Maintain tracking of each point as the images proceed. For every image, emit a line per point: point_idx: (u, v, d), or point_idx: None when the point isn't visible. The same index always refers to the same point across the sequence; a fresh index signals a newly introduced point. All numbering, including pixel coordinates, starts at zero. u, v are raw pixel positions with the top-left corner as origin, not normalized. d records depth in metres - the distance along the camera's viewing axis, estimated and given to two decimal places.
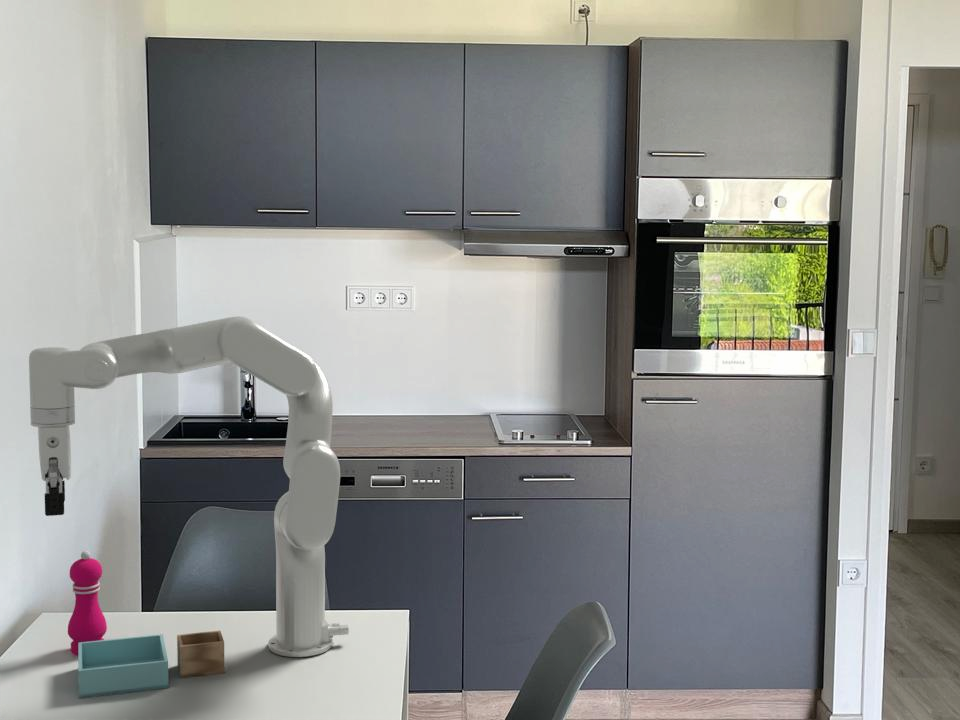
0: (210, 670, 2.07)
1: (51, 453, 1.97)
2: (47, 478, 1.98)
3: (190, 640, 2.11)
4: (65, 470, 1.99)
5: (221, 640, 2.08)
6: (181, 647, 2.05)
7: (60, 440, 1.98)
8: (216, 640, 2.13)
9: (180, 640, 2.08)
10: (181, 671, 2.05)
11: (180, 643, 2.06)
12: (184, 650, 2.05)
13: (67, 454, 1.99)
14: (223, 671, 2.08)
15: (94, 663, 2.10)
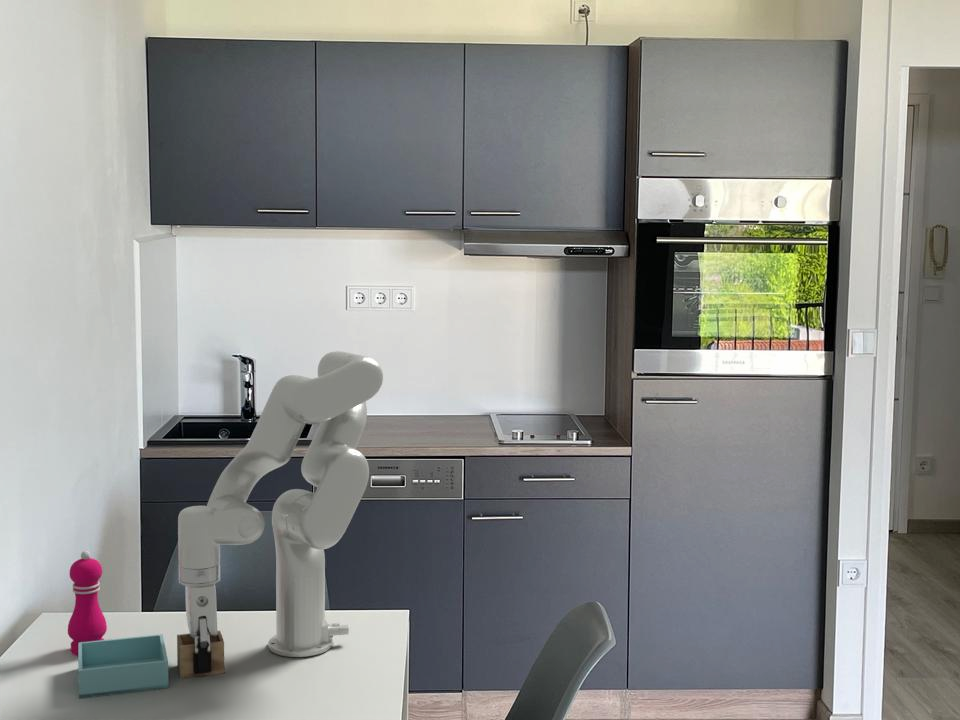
0: None
1: (201, 615, 2.04)
2: (196, 638, 2.05)
3: (190, 640, 2.11)
4: (213, 628, 2.05)
5: (221, 640, 2.08)
6: (181, 647, 2.05)
7: (209, 599, 2.04)
8: (216, 640, 2.13)
9: (180, 640, 2.08)
10: (181, 671, 2.05)
11: (180, 643, 2.06)
12: (184, 650, 2.05)
13: (215, 612, 2.05)
14: (223, 671, 2.08)
15: (94, 663, 2.10)
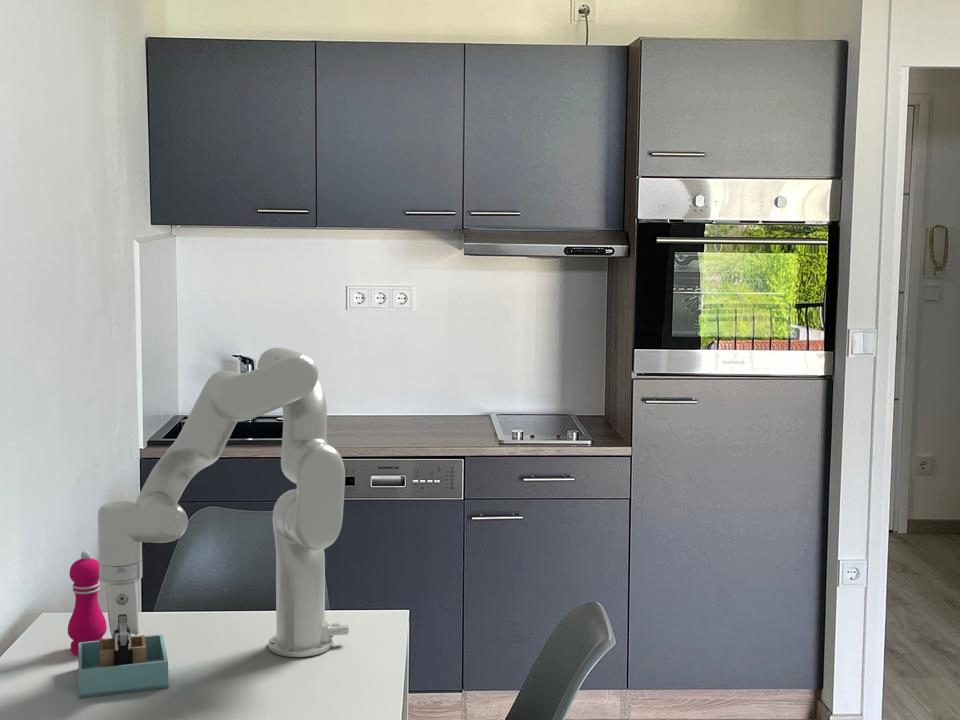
0: None
1: (120, 610, 1.99)
2: (116, 635, 1.99)
3: (113, 645, 2.06)
4: (134, 626, 2.00)
5: (143, 645, 2.04)
6: (101, 652, 2.00)
7: (129, 597, 1.99)
8: (140, 645, 2.08)
9: (101, 645, 2.03)
10: None
11: (101, 648, 2.02)
12: (104, 655, 2.00)
13: (136, 610, 2.00)
14: None
15: (94, 663, 2.10)
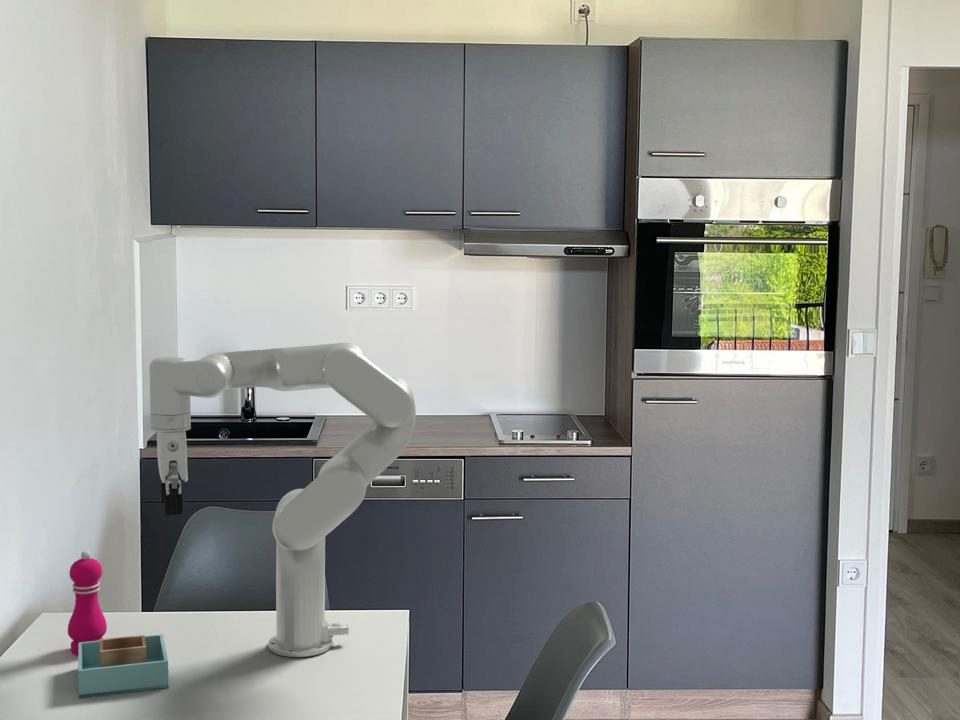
0: None
1: (171, 456, 2.10)
2: (167, 480, 2.11)
3: (113, 645, 2.06)
4: (184, 472, 2.12)
5: (143, 645, 2.04)
6: (101, 652, 2.00)
7: (179, 444, 2.11)
8: (140, 645, 2.08)
9: (101, 645, 2.03)
10: None
11: (101, 648, 2.02)
12: (104, 655, 2.00)
13: (185, 457, 2.12)
14: None
15: (94, 663, 2.10)
